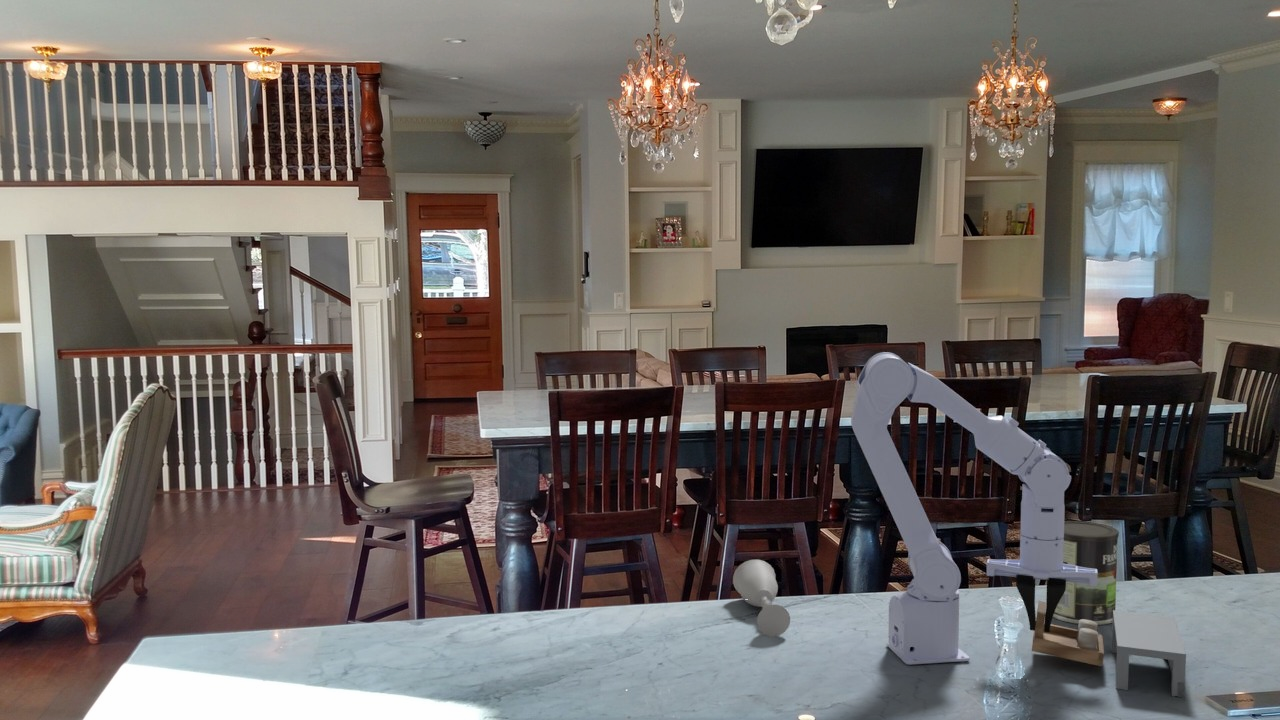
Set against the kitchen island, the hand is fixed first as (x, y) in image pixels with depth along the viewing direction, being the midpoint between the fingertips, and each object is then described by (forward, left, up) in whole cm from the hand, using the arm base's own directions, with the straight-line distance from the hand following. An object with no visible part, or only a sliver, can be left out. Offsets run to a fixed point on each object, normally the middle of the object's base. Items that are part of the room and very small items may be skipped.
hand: (1039, 629), depth 146 cm
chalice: (-35, +14, -2) cm, 38 cm away
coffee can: (+16, +16, -4) cm, 23 cm away
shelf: (+12, -7, -4) cm, 14 cm away
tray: (+3, -2, -2) cm, 4 cm away
